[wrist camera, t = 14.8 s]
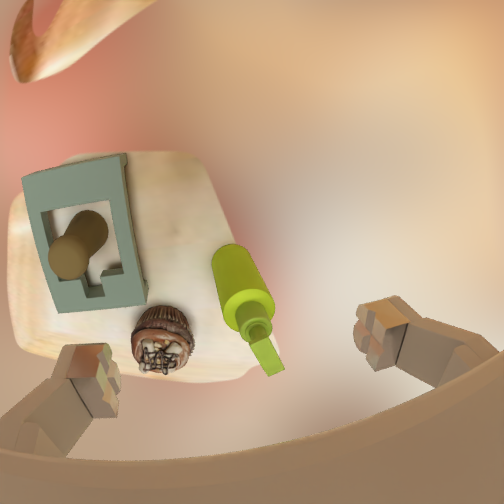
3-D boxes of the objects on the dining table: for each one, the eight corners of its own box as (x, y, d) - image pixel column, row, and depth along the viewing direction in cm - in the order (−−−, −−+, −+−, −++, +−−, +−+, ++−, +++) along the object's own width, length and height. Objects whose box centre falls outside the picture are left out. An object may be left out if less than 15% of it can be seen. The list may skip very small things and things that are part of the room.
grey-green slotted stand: (35, 171, 34) (21, 177, 30) (126, 152, 37) (119, 156, 33) (66, 297, 42) (58, 313, 38) (148, 288, 45) (146, 304, 41)
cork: (78, 255, 41) (54, 293, 31) (64, 217, 38) (32, 247, 28) (114, 244, 41) (96, 280, 31) (100, 204, 39) (75, 230, 29)
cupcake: (137, 347, 49) (133, 390, 40) (131, 299, 45) (123, 339, 36) (193, 348, 51) (197, 390, 42) (193, 299, 47) (197, 340, 38)
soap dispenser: (224, 291, 48) (251, 387, 30) (204, 254, 45) (222, 344, 27) (259, 275, 48) (304, 364, 30) (242, 237, 45) (283, 316, 27)
